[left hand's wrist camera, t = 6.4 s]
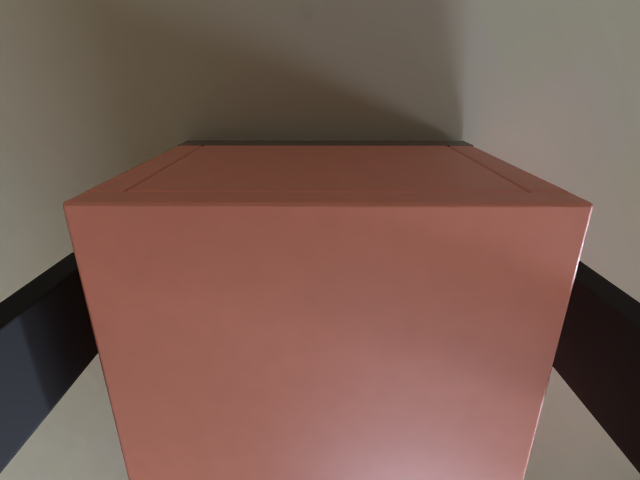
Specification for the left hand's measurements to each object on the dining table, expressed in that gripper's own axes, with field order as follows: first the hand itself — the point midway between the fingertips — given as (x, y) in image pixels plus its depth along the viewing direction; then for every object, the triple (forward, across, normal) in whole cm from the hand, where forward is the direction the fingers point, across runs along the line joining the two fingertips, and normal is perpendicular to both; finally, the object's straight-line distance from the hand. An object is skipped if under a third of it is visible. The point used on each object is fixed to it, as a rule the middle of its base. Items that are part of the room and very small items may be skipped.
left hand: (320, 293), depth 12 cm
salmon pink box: (+4, 0, -6) cm, 7 cm away
